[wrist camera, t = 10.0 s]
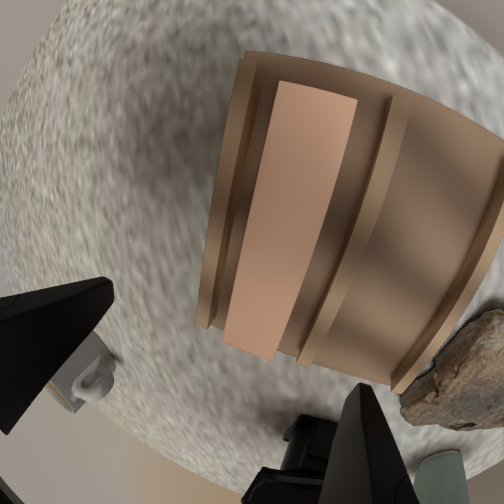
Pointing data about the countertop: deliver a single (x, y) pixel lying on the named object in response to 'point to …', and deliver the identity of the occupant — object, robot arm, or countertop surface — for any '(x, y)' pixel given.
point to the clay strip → (286, 212)
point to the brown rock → (463, 380)
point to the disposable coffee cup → (441, 479)
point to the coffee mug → (83, 375)
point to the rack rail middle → (360, 225)
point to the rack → (378, 219)
